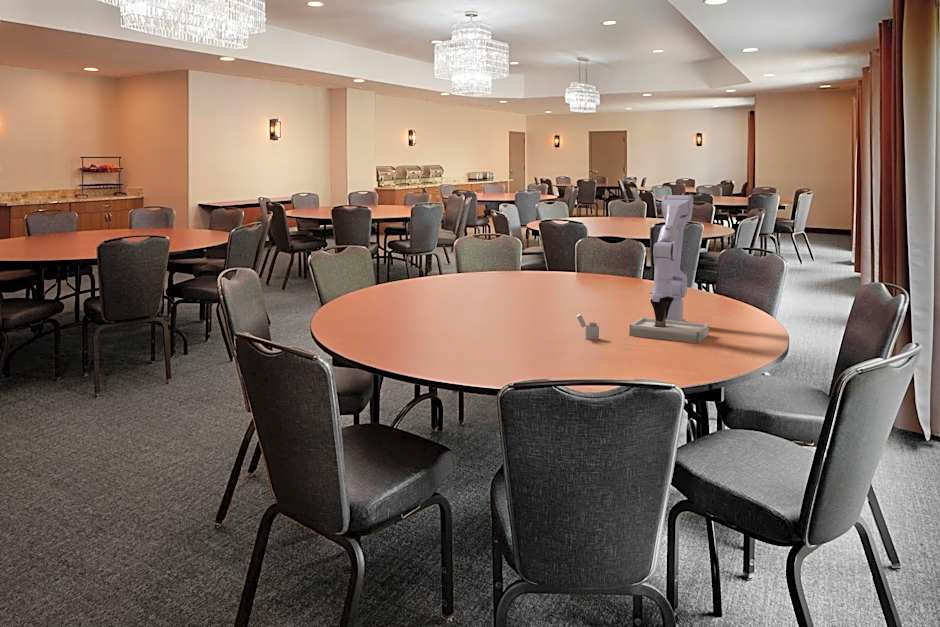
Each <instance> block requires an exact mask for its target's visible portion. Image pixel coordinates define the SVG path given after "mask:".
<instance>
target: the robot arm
mask: <svg viewBox="0 0 940 627" xmlns="http://www.w3.org/2000/svg"><path fill="white" fill-rule="evenodd" d="M693 208H694V197H693V195H692V194H689V195H686V194H685V195H684V194H682V195H680V194H676V195H675V194H670V195H669V194H664V195H663V196H662V200H661V212H662V217H663V218H664V220H665V224H664V225H663V226H661V227H660V230H659V234H658V238H657V242H654V243H653V244H654V245H653V252H652V253H653V254H652V255H653V265H654V271H653V272H654V274H653V275H654V276H653V290H650V291H649V294H650V295H652V298H651V299H650V303H651V304H650V305H651V306H652V308H653V312H654V317H655V318H656V321H660V322H663V320H664V315H665V310H666V320H671V321H681V322H686V319H685V318H683V314H684V313H683V312H684V302H683V298H685V297H686V296H687V292H688V276H687V274H685V272H683V271H682V270H681V260H682V250H683V242H684V240H683V239H684V234H685V233H684V230H685V226H686V224H687V223H688V222H690V221H692V217H693V211H694V209H693ZM655 318H654V319H655Z"/></svg>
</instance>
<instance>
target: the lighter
mask: <svg viewBox="0 0 940 627" xmlns="http://www.w3.org/2000/svg"><path fill="white" fill-rule="evenodd" d="M576 318H577V320H578V322H579V324H580V327H581V328H584V327H585V340H593V341H594V340H597V341H598V340H600V338H599V337H600V325H598V324H597V322H593V321H592V322H590V321H589V324H586V322H585V319H584V317H583V315H582V314H581V313H578V314H576Z"/></svg>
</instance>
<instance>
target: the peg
mask: <svg viewBox="0 0 940 627" xmlns="http://www.w3.org/2000/svg"><path fill="white" fill-rule="evenodd" d="M654 319H655V327H660V328H665V323H666V310H665V315H664V320H663V322H660V321H656V318H654Z"/></svg>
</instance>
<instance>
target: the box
mask: <svg viewBox="0 0 940 627" xmlns="http://www.w3.org/2000/svg"><path fill="white" fill-rule="evenodd" d="M709 331H710V324H709V323H699V322H698V323H697V322H689V321H684V322H681V321H671V320H666V323H665V328H660V327H655V318H651V317H650V318H649V317H641V318H639V319H638V320H636V321H634V322H632V323H630V324H629V332H628V334H629V336H633V337H640V338H651V339H659V340H664V341H665V340H666V341H667V340H668V341H674V342H684V343H691V344H700V343H701V342H703V340H704V339H706V338H707V337H708V336H709V333H710V332H709Z"/></svg>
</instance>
